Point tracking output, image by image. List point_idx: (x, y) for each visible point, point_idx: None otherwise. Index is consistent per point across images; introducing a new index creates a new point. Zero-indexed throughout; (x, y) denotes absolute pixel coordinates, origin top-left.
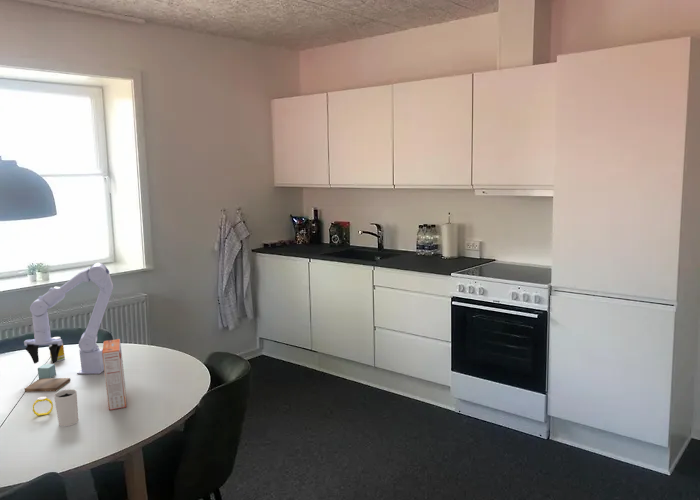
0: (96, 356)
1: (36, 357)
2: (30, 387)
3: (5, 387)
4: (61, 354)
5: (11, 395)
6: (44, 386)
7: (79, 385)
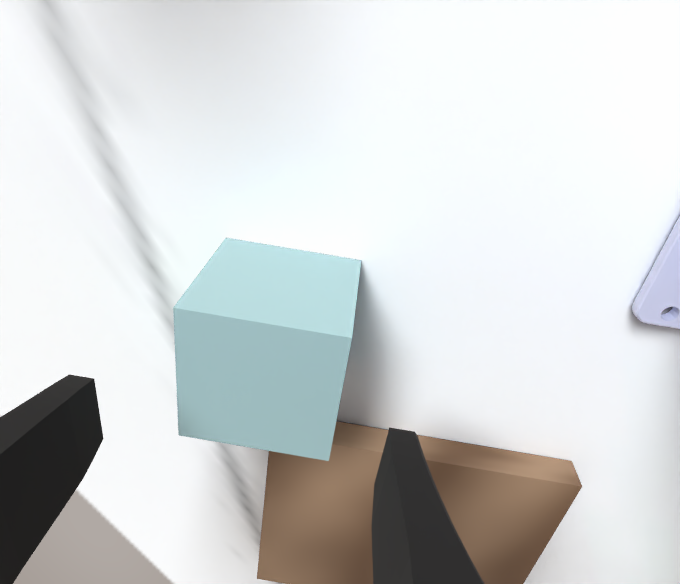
0: None
1: (40, 474)
2: (293, 573)
3: None
4: None
5: (204, 579)
6: None
7: (667, 551)
